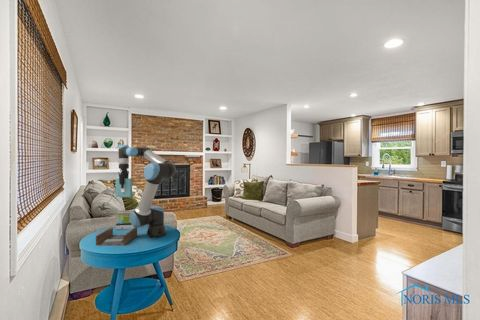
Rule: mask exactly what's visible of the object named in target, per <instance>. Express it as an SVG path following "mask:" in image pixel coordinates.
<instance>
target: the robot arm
mask: <svg viewBox="0 0 480 320" xmlns="http://www.w3.org/2000/svg"><path fill="white" fill-rule="evenodd" d="M117 151H118V160H117V161H118V169H120V170H119V171H118V179H119V184H121V192H125V184H124V179H129V174H130V173H129V172H130V171H129V170H128V169H129V168H130V166H129V165H130V164H129V163H130V162H129V161H130V157H143V158H145V159H146V160H147V161H149V162H150V163H148V164H147V165H146V166H145V168H144V170H143V173H144V174H143V176H144V179H145V181H146V183H145V186H144V189H143V192H142V194H141V198H140V201H139V204H138V205H137V206H136V207H135V209H134V210H135V211H134V212H131V213H130V222H131V224H132V225H133V226H134V227H137V228H140V227H142V226H146V225H148V228H147V231H146V236H148V237H149V238H161V237H163V236H166V235H167V230H166V227H165V210H164V209H165V208H164V207H163V206H161V205H160V206H159V205H152V204H153V202H154V200H155V196H156V193H157V190H158V188H159V185H161V184H162V183H163V180H165V179H171V178H172V177H174V175H175V174H176V170H177V168H176V166H175V164H174V163H173V162H172V161H170V160H166V159H164V158H163V157H161V156H160V155H159V154H157V153H155V152H154V151H153V148H151V147H148V146H147V147H146V146H145V147H140V146H139V147H136V146H129V145H128V144H119V145H118V149H117Z"/></svg>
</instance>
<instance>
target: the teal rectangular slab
mask: <svg viewBox="0 0 480 320" xmlns="http://www.w3.org/2000/svg"><path fill="white" fill-rule="evenodd" d="M124 184H125V192H121V184H119V178H115V198H131V197H133V178H128V179H124Z"/></svg>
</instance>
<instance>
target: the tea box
mask: <svg viewBox="0 0 480 320" xmlns="http://www.w3.org/2000/svg"><path fill="white" fill-rule="evenodd" d="M134 211H135V209H132V210H131V209H129V210H118V211H117V212H116V213H115V229H116V230H132V229H134V228H135V227H134V226H133V225H132V224H131V222H130V213H131V212H134Z"/></svg>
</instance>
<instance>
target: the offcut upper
mask: <svg viewBox="0 0 480 320" xmlns="http://www.w3.org/2000/svg"><path fill="white" fill-rule="evenodd" d="M103 243H104V244H122V243H123V239H107V240H105V241H104V242H103Z"/></svg>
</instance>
